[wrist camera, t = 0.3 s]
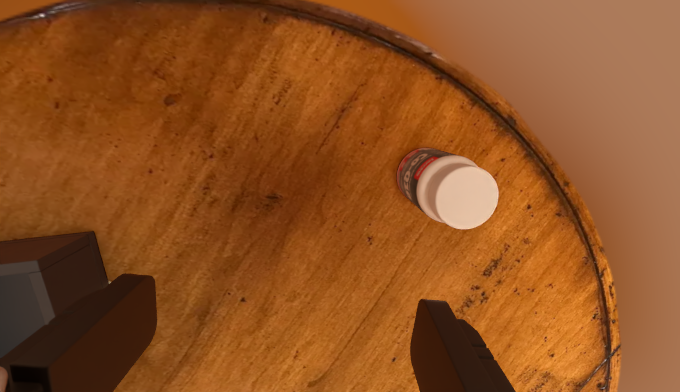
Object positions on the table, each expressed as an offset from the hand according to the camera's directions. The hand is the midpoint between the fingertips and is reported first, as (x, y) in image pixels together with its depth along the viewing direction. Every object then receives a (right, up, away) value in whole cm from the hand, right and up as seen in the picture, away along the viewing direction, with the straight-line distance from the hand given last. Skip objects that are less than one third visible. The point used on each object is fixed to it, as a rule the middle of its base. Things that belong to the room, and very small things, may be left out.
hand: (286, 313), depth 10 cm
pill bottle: (+9, +5, +18) cm, 21 cm away
